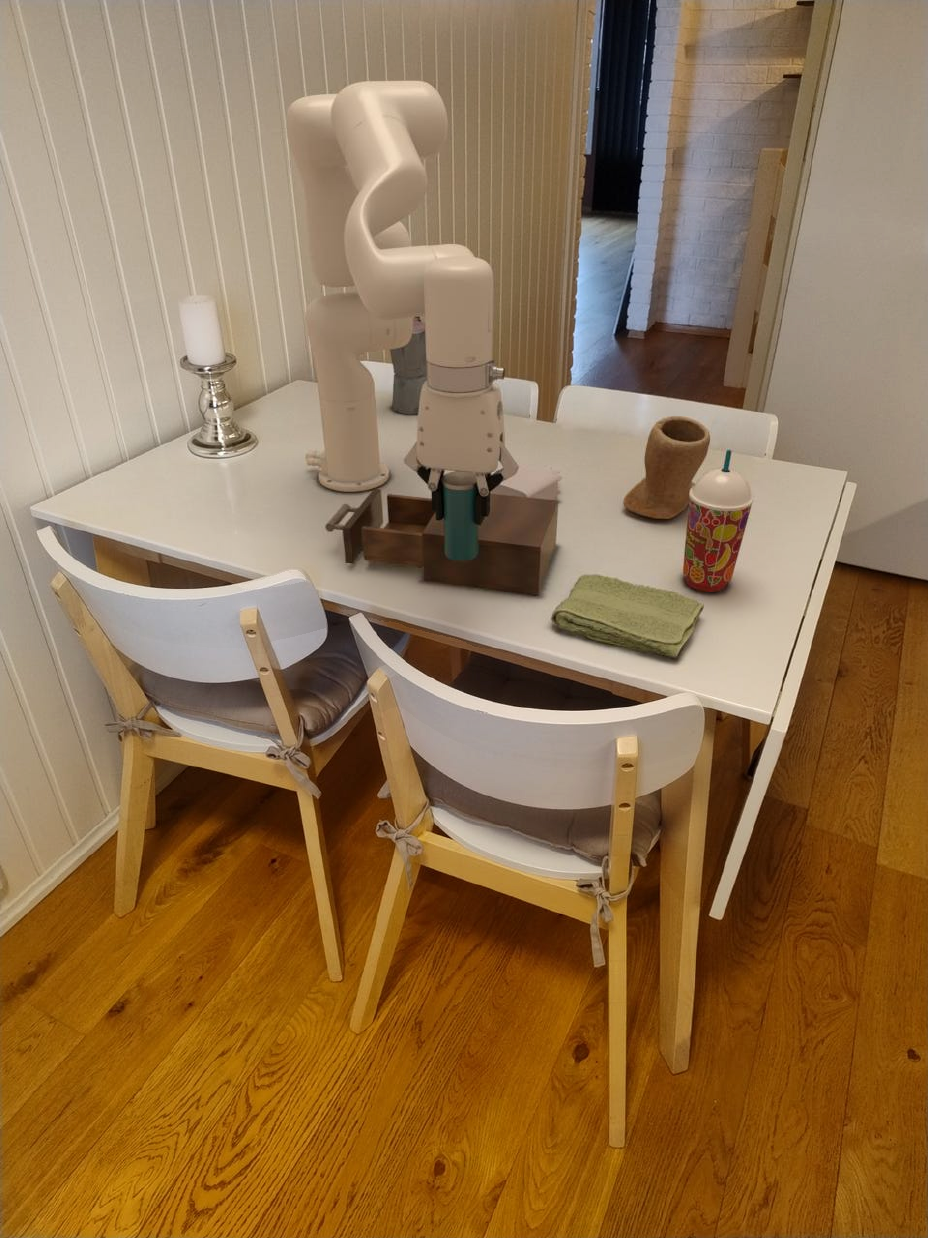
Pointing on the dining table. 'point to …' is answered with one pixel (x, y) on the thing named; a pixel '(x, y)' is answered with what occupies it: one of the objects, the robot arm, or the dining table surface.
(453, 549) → the tin
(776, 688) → the dining table surface
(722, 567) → the smoothie
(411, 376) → the moka pot
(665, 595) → the washcloth
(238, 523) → the dining table surface
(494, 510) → the cabinet
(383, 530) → the drawer
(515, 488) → the open book
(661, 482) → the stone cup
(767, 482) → the dining table surface
